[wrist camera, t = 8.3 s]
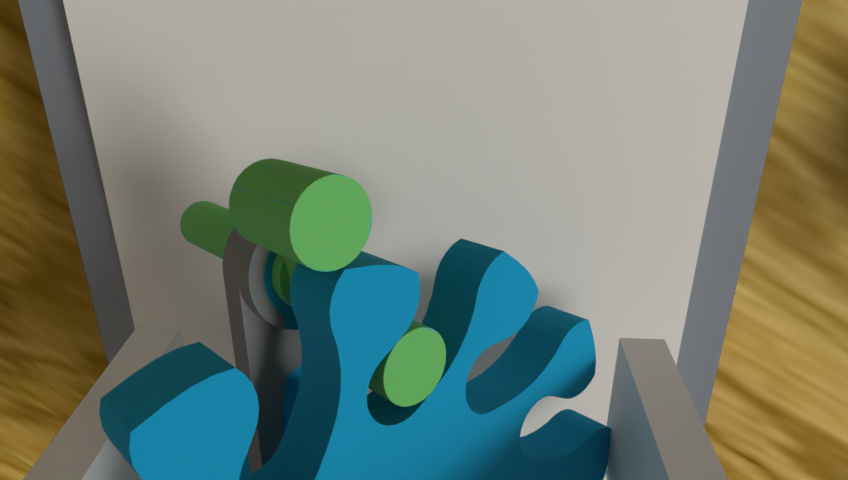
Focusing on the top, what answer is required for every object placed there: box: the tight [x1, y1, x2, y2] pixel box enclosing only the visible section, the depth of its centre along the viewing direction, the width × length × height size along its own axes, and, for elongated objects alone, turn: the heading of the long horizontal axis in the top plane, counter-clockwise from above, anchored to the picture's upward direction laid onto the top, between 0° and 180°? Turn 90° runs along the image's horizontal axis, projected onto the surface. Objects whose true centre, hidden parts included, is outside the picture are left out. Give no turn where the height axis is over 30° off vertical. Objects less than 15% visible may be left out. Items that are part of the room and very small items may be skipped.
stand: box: [18, 0, 802, 480], centre depth 15 cm, size 18×13×3 cm
